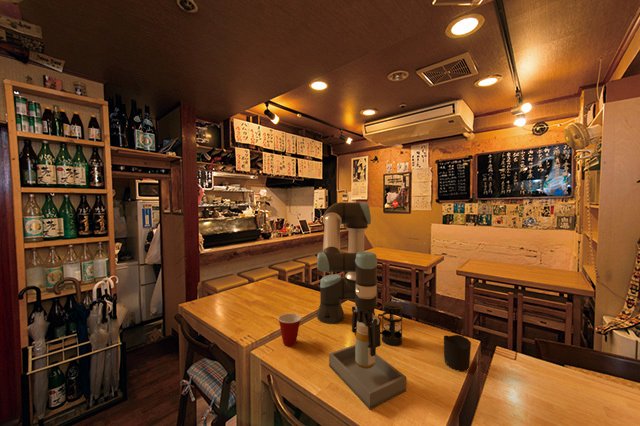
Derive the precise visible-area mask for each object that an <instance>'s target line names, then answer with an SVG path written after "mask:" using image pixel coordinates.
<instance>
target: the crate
mask: <svg viewBox="0 0 640 426" xmlns="http://www.w3.org/2000/svg"><path fill="white" fill-rule="evenodd" d="M328 366H329V368H330V369H331V370H332V372H334V373H335V374H336V375H337V376H338V377H339V379H340V380H342V382H343V383H344V384H345V385H346V386H347V387H348V388H349V390H351V392H353V393H354V395H356V397H357V398H358V399H359V400H360V401H361V402H362V403H363V405H364V406H365V407H366V408H367V409H369V410H372V409H375V408H376V407H378V406H380V405H382V404H384V403H386V402H388V401H390V400H392V399H393V398H396V397H397V396H399V395H401V394H403V393H405V392H407V376H406V375H405V374H403V372H401V371H399V370H398V369H397V368H396V367H394V366H393V365H391V364H390V363H389V362H387V361H386V360H385V359H384V358H382V357H381V356H380V355H378V354H377V353H376V355H375V364H374V366H373V367H371V368H368V369H364V368H361V367H359V366H358V365H357V364H356V361H355V344H354V345H351V346H348V347H345V348H341V349H338V350H336V351H332V352H330V353H328Z"/></svg>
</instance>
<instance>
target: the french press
mask: <svg viewBox="0 0 640 426" xmlns="http://www.w3.org/2000/svg"><path fill="white" fill-rule="evenodd" d="M387 293H388V294H389V295H391V301H390V300H388V301H387V300H386V301H384V302H383V303H382V306H383V309H382V310H384V312H382V313H378V314H377V318H380V317H382V318H381V323H382V325H381V331H380V335H381V342H382V343H383V344H385V345H387V346H391V347H399V346H402V344H403V315H402V314H401V313H400V312H401V310H402V309H403V308H404V306H403V304H402V303H400V302H398V301H394V296H395V295H398V292H397V291H394V290H389V291H387ZM386 315H389V318H388V317H386ZM394 315H395V316H398V317H400V318H398V319H397V318H395V319H394ZM384 321H386V322H385V323H384ZM398 323H401V325H399V324H398Z"/></svg>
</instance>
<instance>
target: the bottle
mask: <svg viewBox="0 0 640 426" xmlns="http://www.w3.org/2000/svg"><path fill="white" fill-rule="evenodd" d="M369 323H370V322H369ZM370 327H371V326H370ZM354 342H355V344H354V345H355V361H356V364H357V365H358V366H359V367H361V368H364V369H368V368H371V367H373V366H374V364H375V363H373V364H370V365H368V345H369V339H368V327H367V326H365V323H364V321H361V322H359V321H357V332H356V336H355V341H354ZM372 343H373V342H372Z"/></svg>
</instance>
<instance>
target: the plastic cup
mask: <svg viewBox="0 0 640 426" xmlns="http://www.w3.org/2000/svg"><path fill="white" fill-rule="evenodd" d="M277 321H278V323H279V326H280V334H281V340H282V343H283V345H284V346H285V347H293V346H296V344H297V339H298V335H299V328H300V323H301V321H302V316H301V315H300V314H297V313H284V314H281V315H278V317H277Z"/></svg>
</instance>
